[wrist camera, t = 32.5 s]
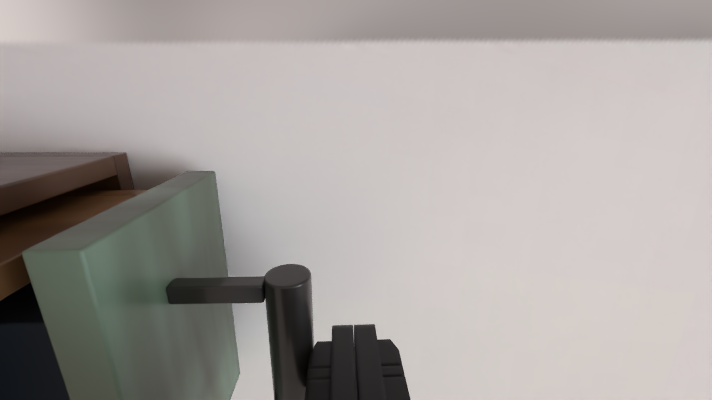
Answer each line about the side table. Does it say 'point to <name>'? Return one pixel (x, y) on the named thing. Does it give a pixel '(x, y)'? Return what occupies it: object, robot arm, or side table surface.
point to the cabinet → (58, 176)
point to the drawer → (150, 293)
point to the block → (27, 351)
